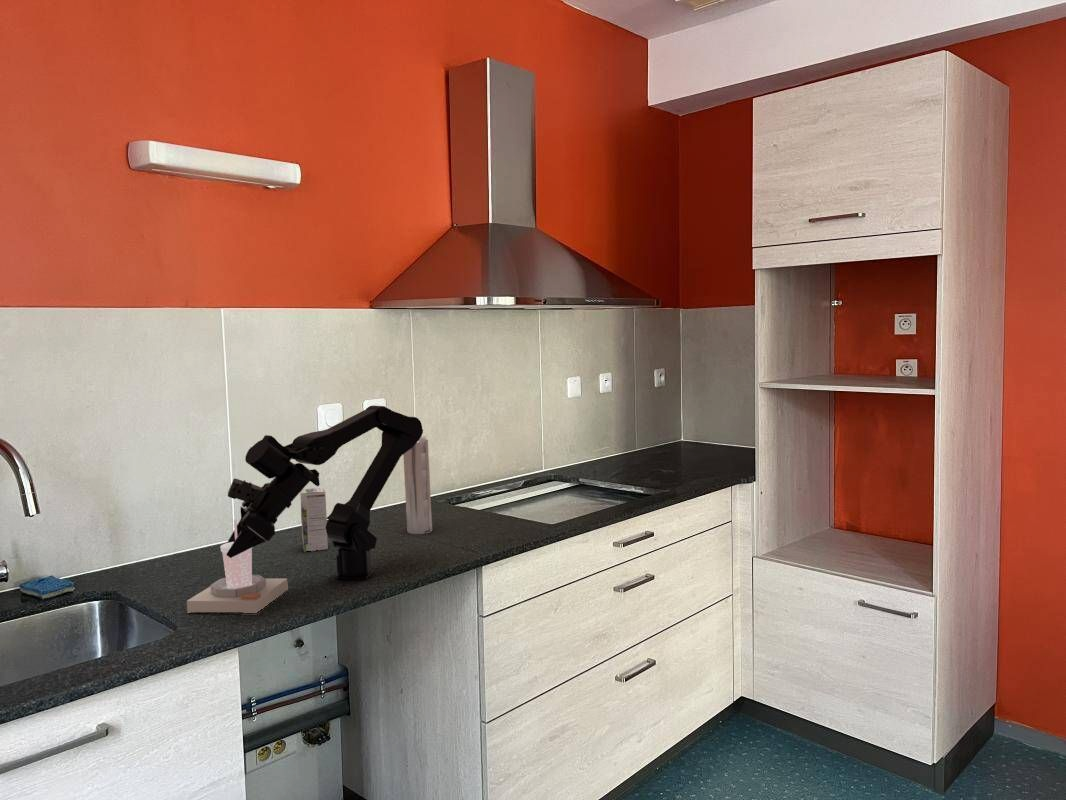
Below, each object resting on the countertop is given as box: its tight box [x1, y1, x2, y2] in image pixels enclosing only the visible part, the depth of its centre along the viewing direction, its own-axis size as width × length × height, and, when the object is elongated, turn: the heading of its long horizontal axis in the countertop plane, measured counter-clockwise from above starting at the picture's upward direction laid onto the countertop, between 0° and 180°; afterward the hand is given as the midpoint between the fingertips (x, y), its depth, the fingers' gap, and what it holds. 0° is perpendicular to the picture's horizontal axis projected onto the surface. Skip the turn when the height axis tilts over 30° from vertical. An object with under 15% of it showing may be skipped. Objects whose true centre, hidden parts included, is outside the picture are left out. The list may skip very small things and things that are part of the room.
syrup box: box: [299, 487, 329, 553], centre depth 200 cm, size 6×6×14 cm
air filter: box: [402, 435, 433, 535], centre depth 213 cm, size 6×6×25 cm
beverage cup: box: [220, 519, 254, 588], centre depth 162 cm, size 6×6×14 cm
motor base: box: [186, 574, 289, 614], centre depth 162 cm, size 14×14×4 cm
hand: (228, 550), depth 161 cm, fingers open, 9 cm apart
